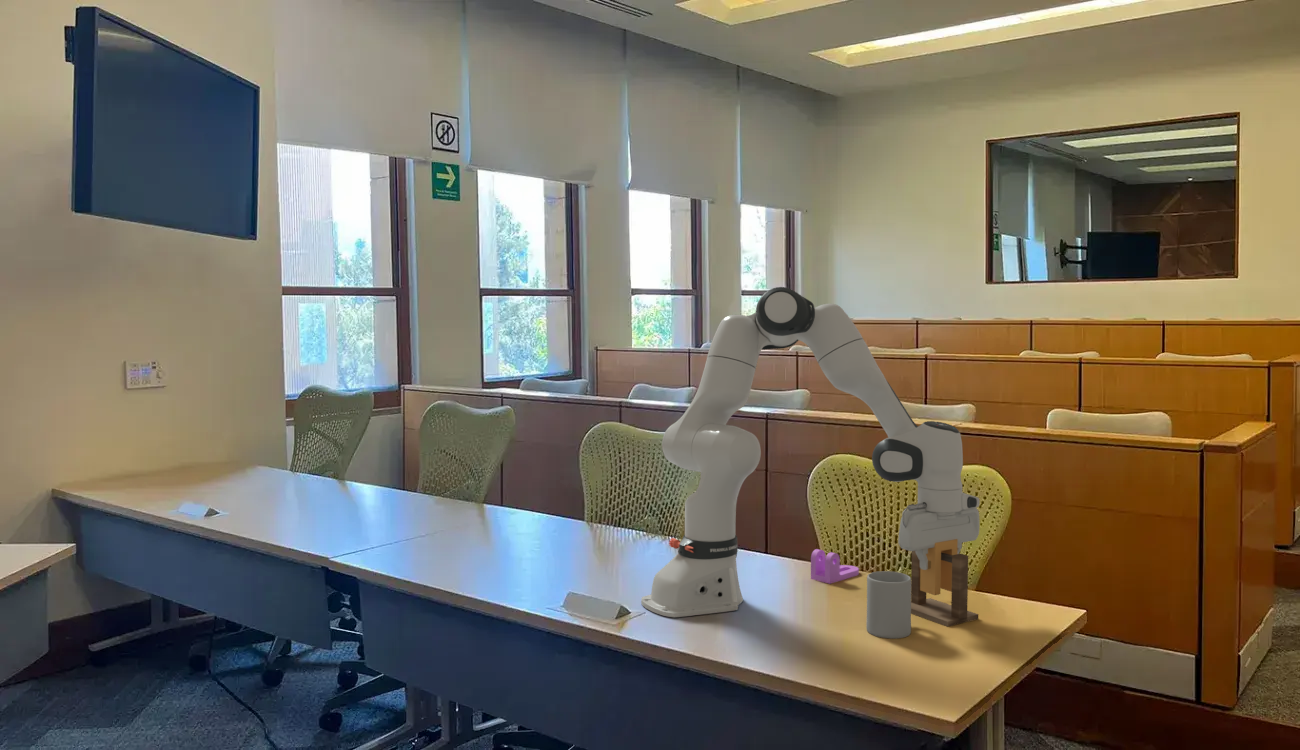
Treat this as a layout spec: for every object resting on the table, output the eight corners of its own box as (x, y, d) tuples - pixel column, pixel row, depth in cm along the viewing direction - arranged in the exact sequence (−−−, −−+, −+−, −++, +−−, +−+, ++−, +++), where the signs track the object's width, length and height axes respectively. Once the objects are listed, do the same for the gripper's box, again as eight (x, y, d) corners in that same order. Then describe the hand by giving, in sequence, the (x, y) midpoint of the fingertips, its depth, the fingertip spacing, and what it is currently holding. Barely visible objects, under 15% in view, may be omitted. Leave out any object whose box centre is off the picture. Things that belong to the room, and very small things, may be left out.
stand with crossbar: (947, 626, 189) (948, 559, 188) (899, 609, 200) (900, 546, 199) (978, 619, 194) (979, 553, 193) (930, 602, 205) (930, 540, 204)
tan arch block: (934, 595, 193) (935, 543, 193) (920, 590, 197) (920, 539, 196) (956, 590, 196) (957, 539, 196) (941, 585, 200) (942, 535, 199)
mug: (901, 641, 180) (902, 585, 180) (859, 633, 185) (860, 578, 185) (923, 624, 190) (923, 571, 190) (882, 617, 195) (883, 565, 194)
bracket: (829, 584, 220) (829, 554, 219) (810, 579, 224) (810, 550, 224) (863, 574, 228) (863, 545, 228) (844, 569, 233) (844, 541, 232)
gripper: (914, 508, 188) (913, 577, 188) (985, 498, 198) (984, 563, 199) (891, 503, 193) (890, 569, 194) (961, 493, 203) (960, 556, 204)
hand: (938, 566), depth 196 cm, fingers closed on tan arch block, 6 cm apart
